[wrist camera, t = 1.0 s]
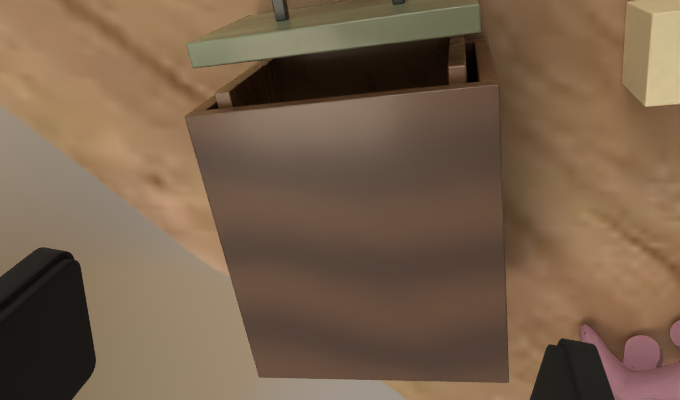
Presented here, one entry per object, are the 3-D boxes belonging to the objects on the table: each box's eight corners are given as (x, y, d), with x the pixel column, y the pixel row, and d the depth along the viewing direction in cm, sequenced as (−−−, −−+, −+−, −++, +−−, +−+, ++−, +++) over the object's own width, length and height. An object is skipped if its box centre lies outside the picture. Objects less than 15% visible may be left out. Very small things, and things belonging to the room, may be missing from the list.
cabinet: (255, 65, 36) (183, 116, 26) (487, 37, 32) (499, 83, 23) (302, 278, 43) (258, 377, 33) (496, 274, 39) (509, 383, 30)
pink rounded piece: (589, 344, 42) (630, 438, 37) (568, 324, 39) (610, 423, 35) (727, 293, 38) (792, 391, 33) (715, 266, 35) (785, 369, 31)
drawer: (229, -72, 31) (154, -70, 24) (469, -117, 28) (474, -132, 20) (296, 236, 40) (257, 311, 32) (486, 228, 37) (493, 309, 29)
